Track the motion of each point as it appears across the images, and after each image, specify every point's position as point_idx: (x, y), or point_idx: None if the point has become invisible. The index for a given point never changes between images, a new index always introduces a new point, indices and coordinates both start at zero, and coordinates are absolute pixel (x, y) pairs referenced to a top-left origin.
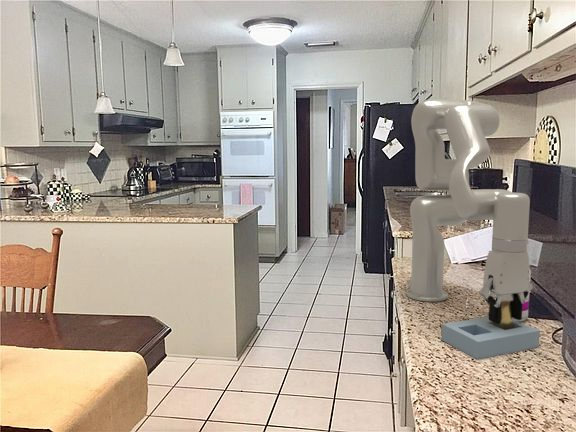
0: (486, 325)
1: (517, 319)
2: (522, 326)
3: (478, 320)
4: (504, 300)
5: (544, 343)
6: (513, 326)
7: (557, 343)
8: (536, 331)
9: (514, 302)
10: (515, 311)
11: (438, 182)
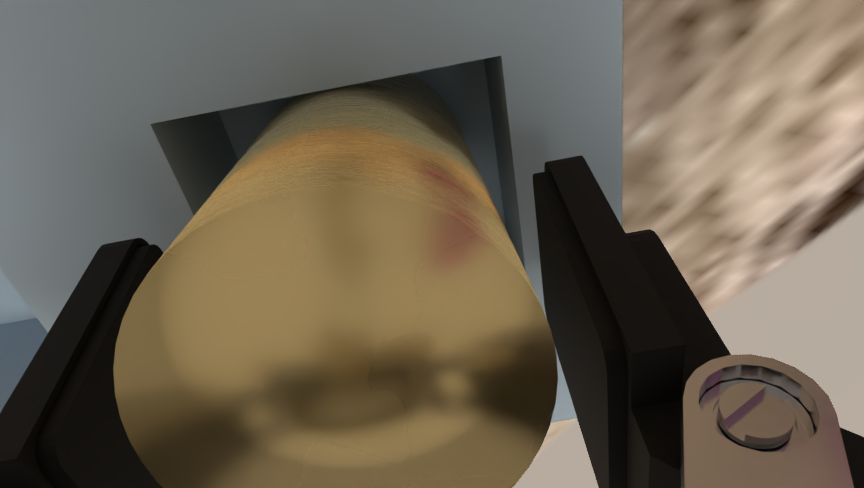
0: (88, 224)
1: (544, 296)
2: (543, 307)
3: (18, 3)
4: (506, 308)
5: (694, 239)
6: (510, 186)
7: (795, 253)
8: (574, 416)
9: (632, 423)
10: (564, 342)
11: None
